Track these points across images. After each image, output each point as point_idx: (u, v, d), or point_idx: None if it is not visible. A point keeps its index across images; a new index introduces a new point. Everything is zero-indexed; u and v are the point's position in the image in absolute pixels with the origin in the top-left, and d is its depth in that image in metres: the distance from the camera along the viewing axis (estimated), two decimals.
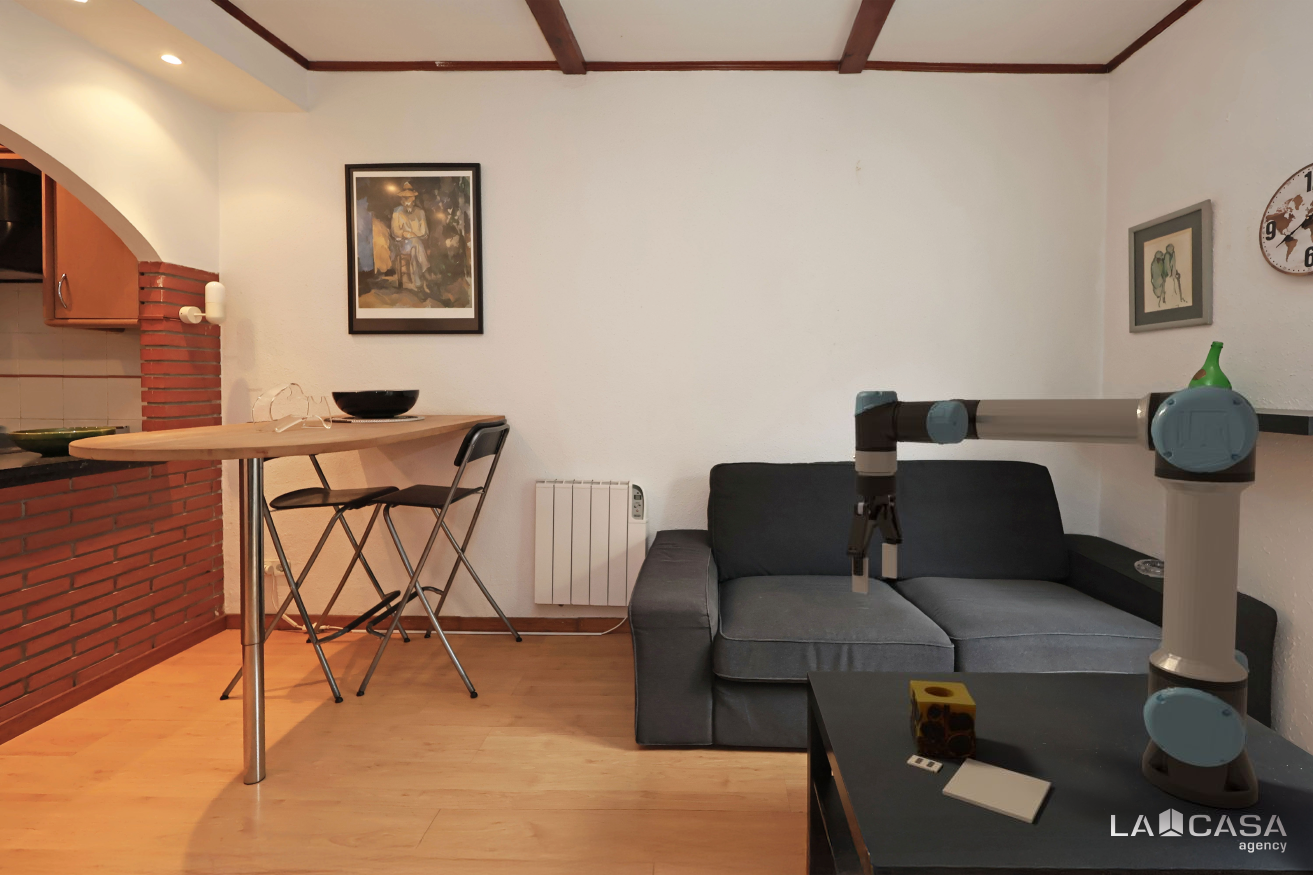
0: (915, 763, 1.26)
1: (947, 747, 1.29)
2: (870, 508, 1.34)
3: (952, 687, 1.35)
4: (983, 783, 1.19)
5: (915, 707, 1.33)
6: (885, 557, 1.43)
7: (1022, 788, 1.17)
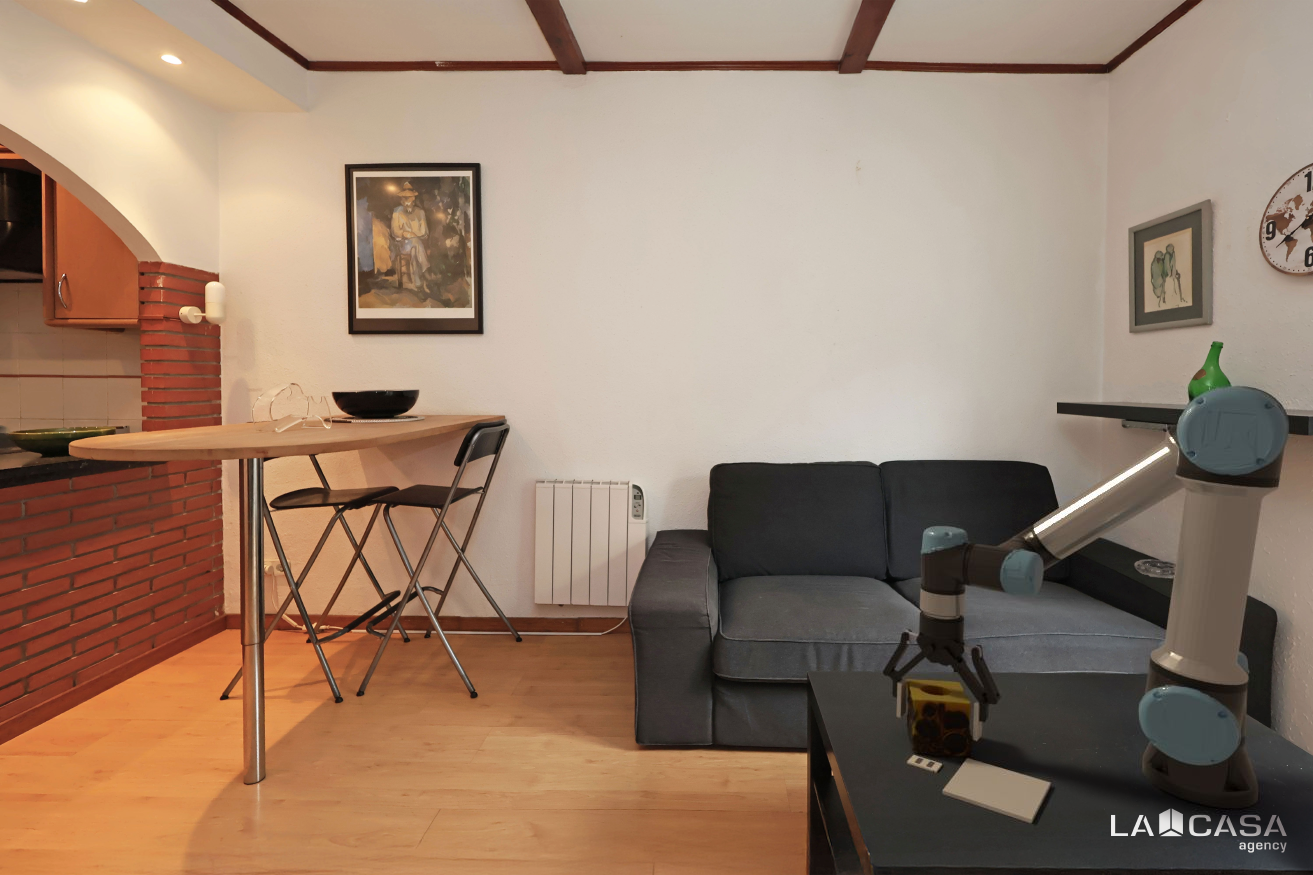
0: (915, 763, 1.26)
1: (942, 745, 1.29)
2: None
3: (948, 686, 1.35)
4: (983, 783, 1.19)
5: (911, 705, 1.34)
6: None
7: (1022, 788, 1.17)
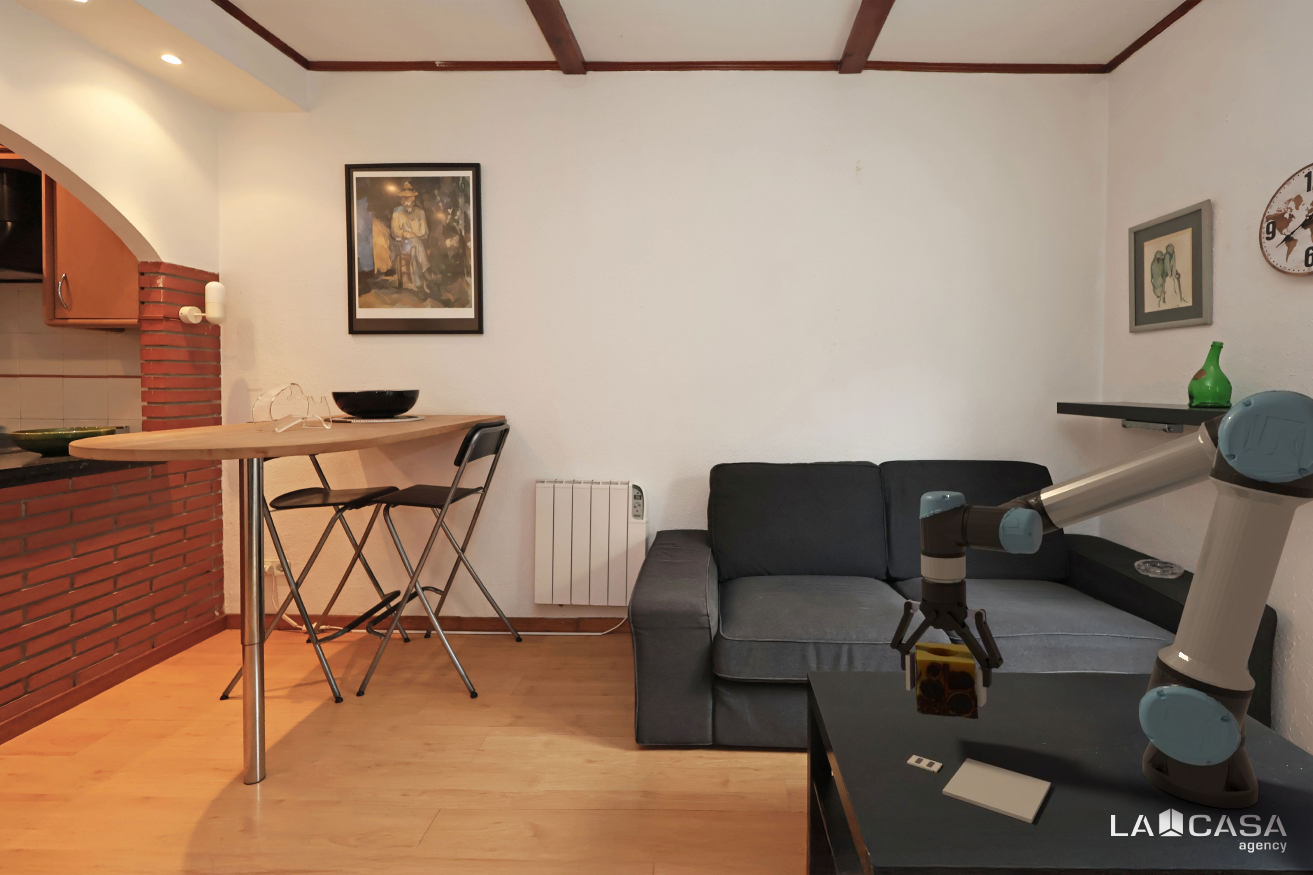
0: (915, 763, 1.26)
1: (947, 706, 1.28)
2: (919, 608, 1.34)
3: (956, 648, 1.34)
4: (983, 783, 1.19)
5: (917, 667, 1.33)
6: None
7: (1022, 788, 1.17)
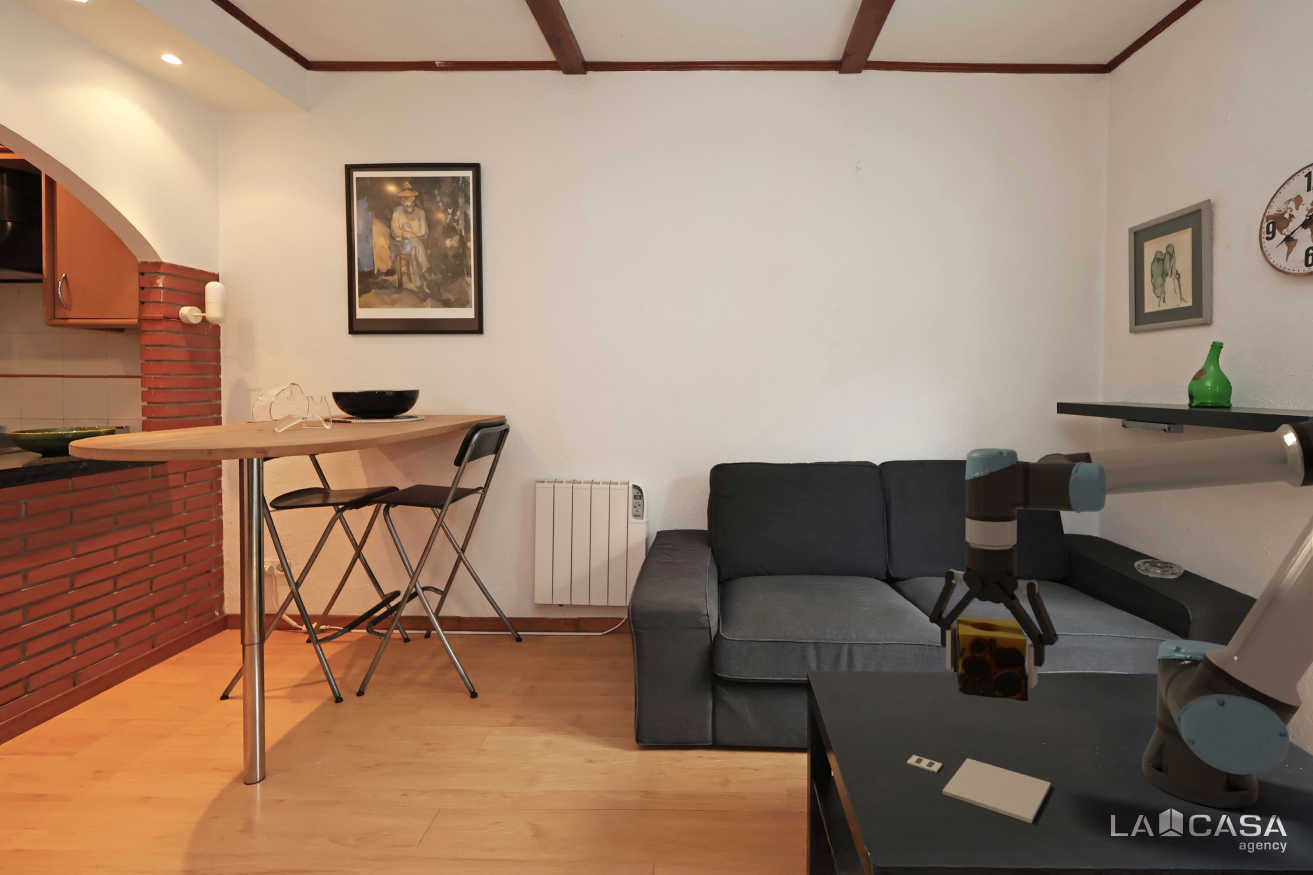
0: (915, 763, 1.26)
1: (993, 686, 1.15)
2: (963, 579, 1.20)
3: (1004, 623, 1.21)
4: (983, 783, 1.19)
5: (959, 643, 1.20)
6: None
7: (1022, 788, 1.17)
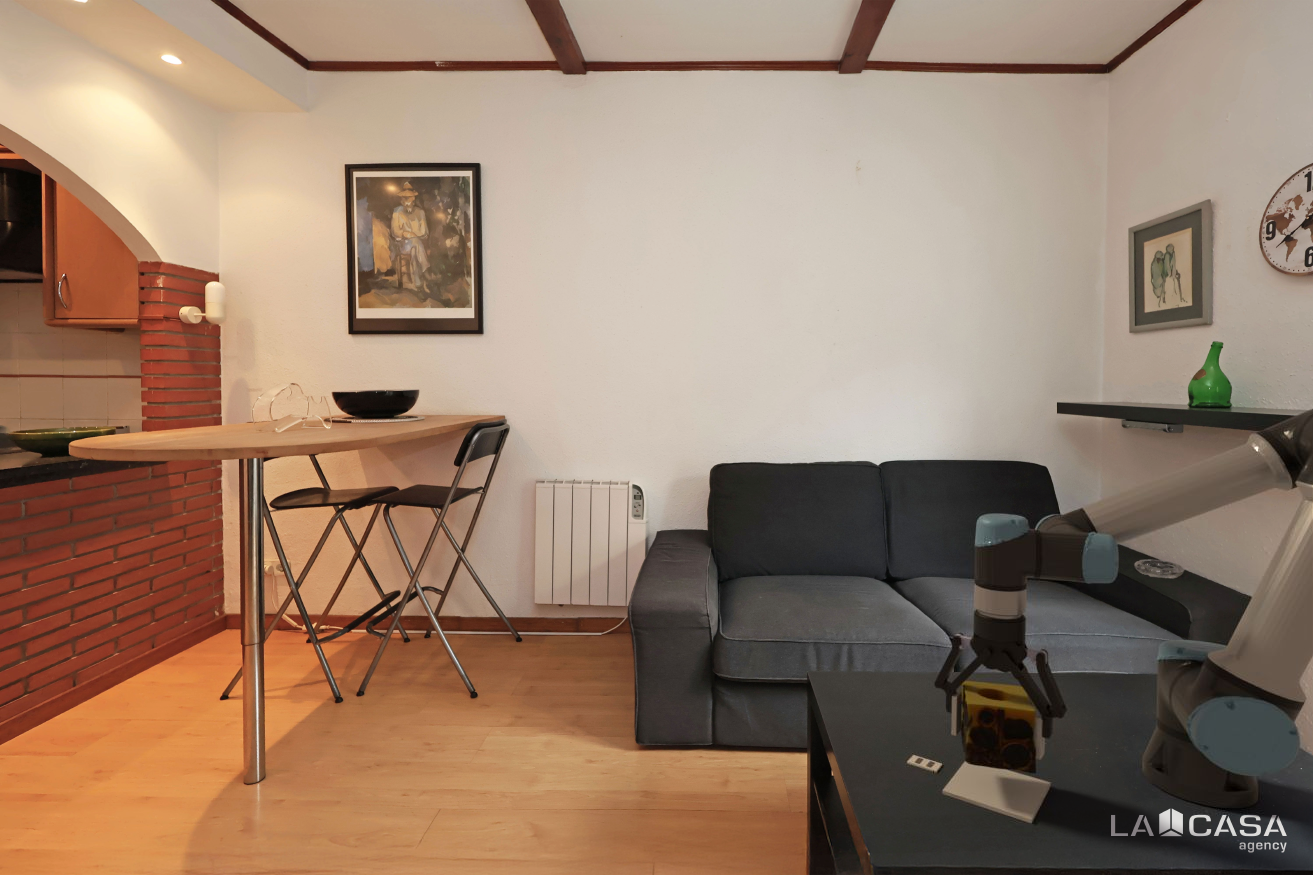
0: (915, 763, 1.26)
1: (1001, 757, 1.13)
2: (970, 645, 1.19)
3: (1010, 690, 1.19)
4: (983, 783, 1.19)
5: (965, 710, 1.18)
6: None
7: (1022, 788, 1.17)
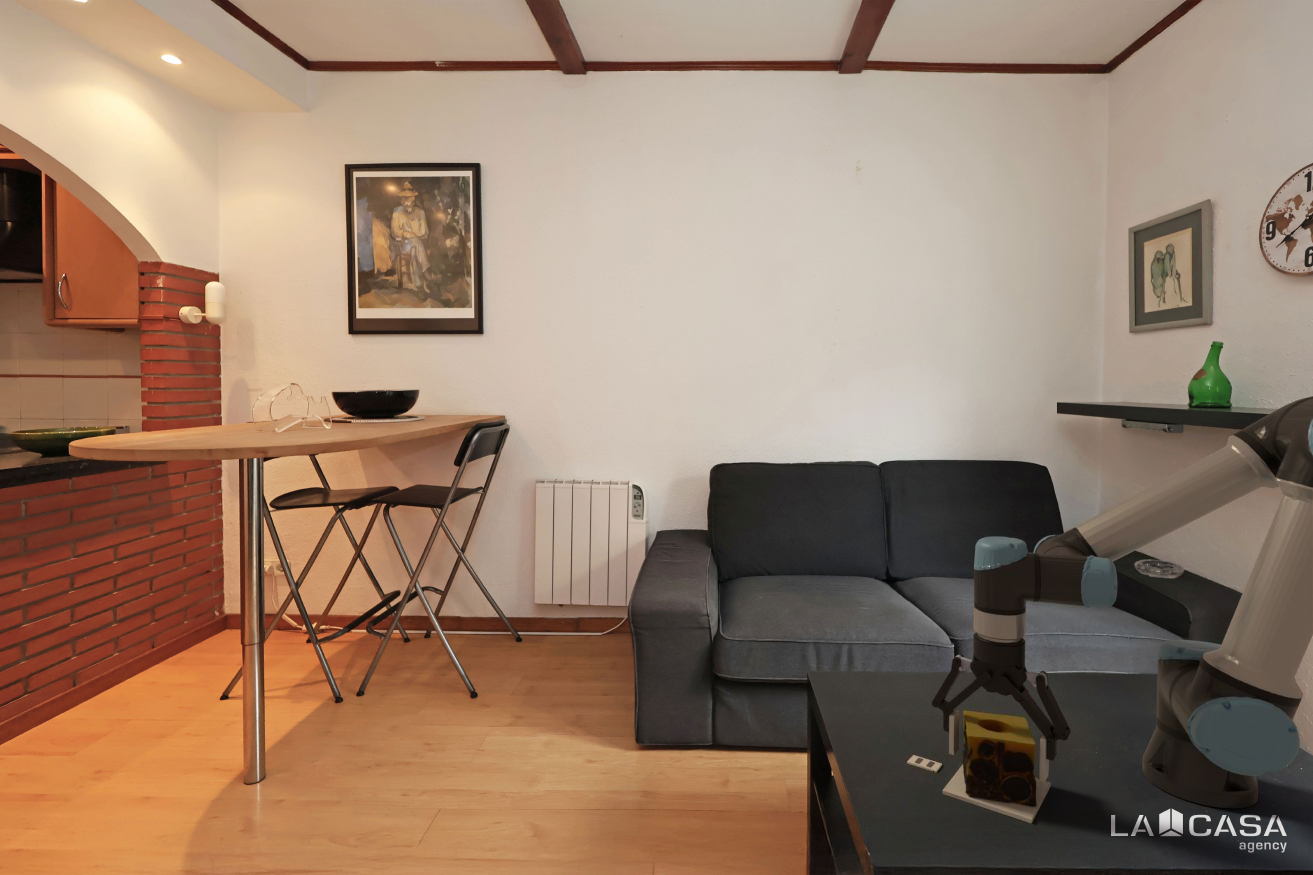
0: (915, 763, 1.26)
1: (1001, 790, 1.13)
2: (970, 667, 1.19)
3: (1011, 721, 1.19)
4: None
5: (966, 741, 1.19)
6: None
7: None
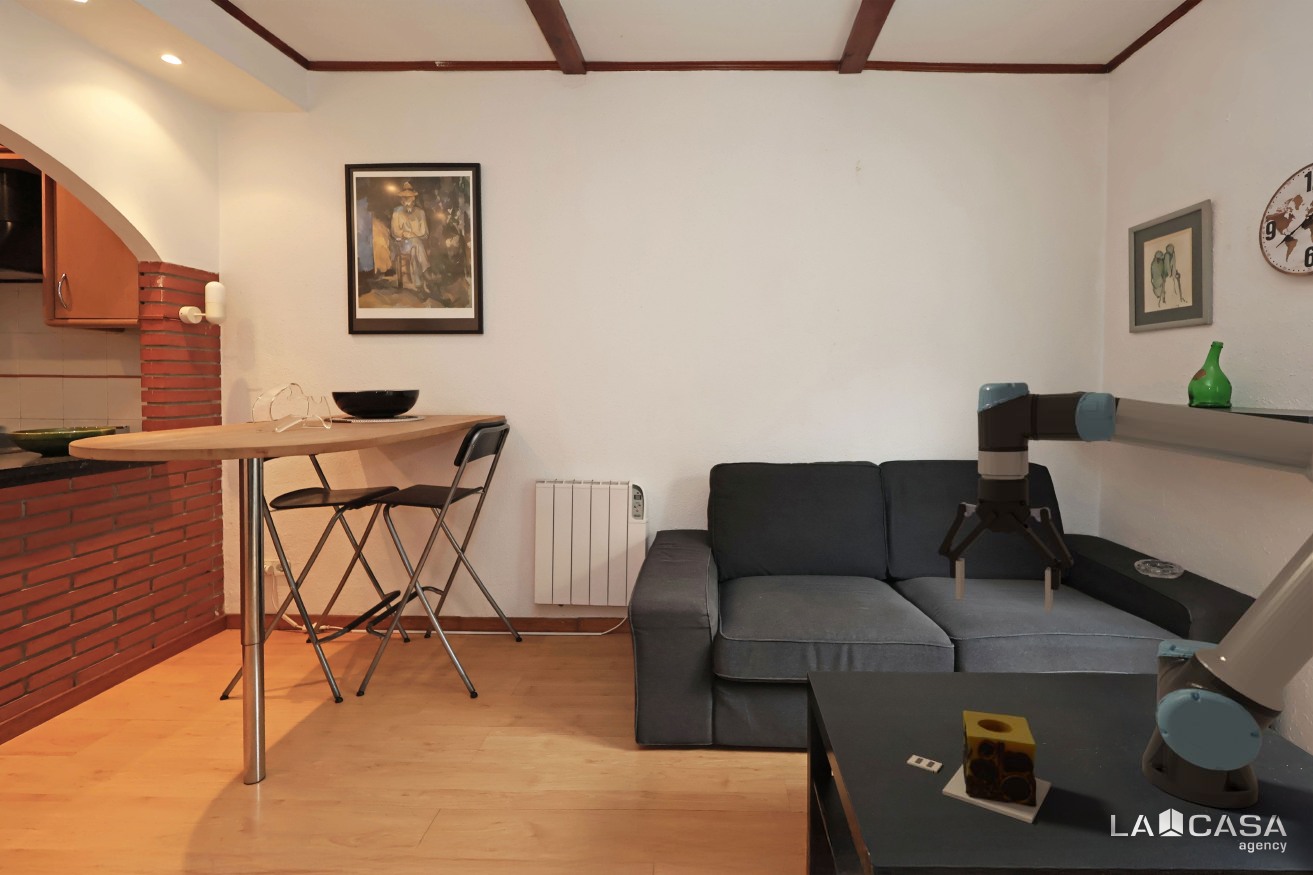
0: (915, 763, 1.26)
1: (1001, 790, 1.13)
2: (975, 511, 1.23)
3: (1011, 721, 1.19)
4: None
5: (966, 741, 1.19)
6: None
7: None
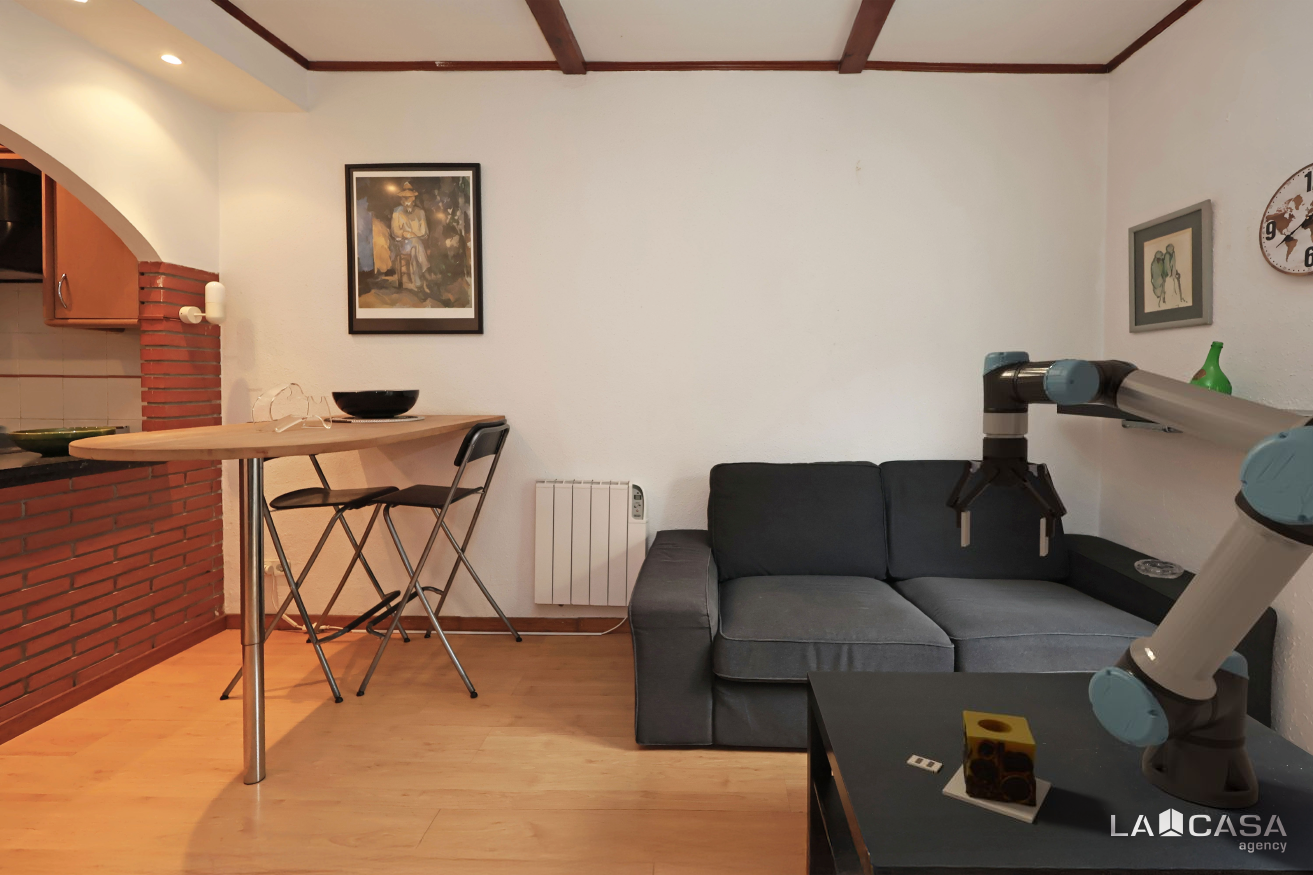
0: (915, 763, 1.26)
1: (1001, 790, 1.13)
2: (980, 467, 1.37)
3: (1011, 721, 1.19)
4: None
5: (966, 741, 1.19)
6: None
7: None
